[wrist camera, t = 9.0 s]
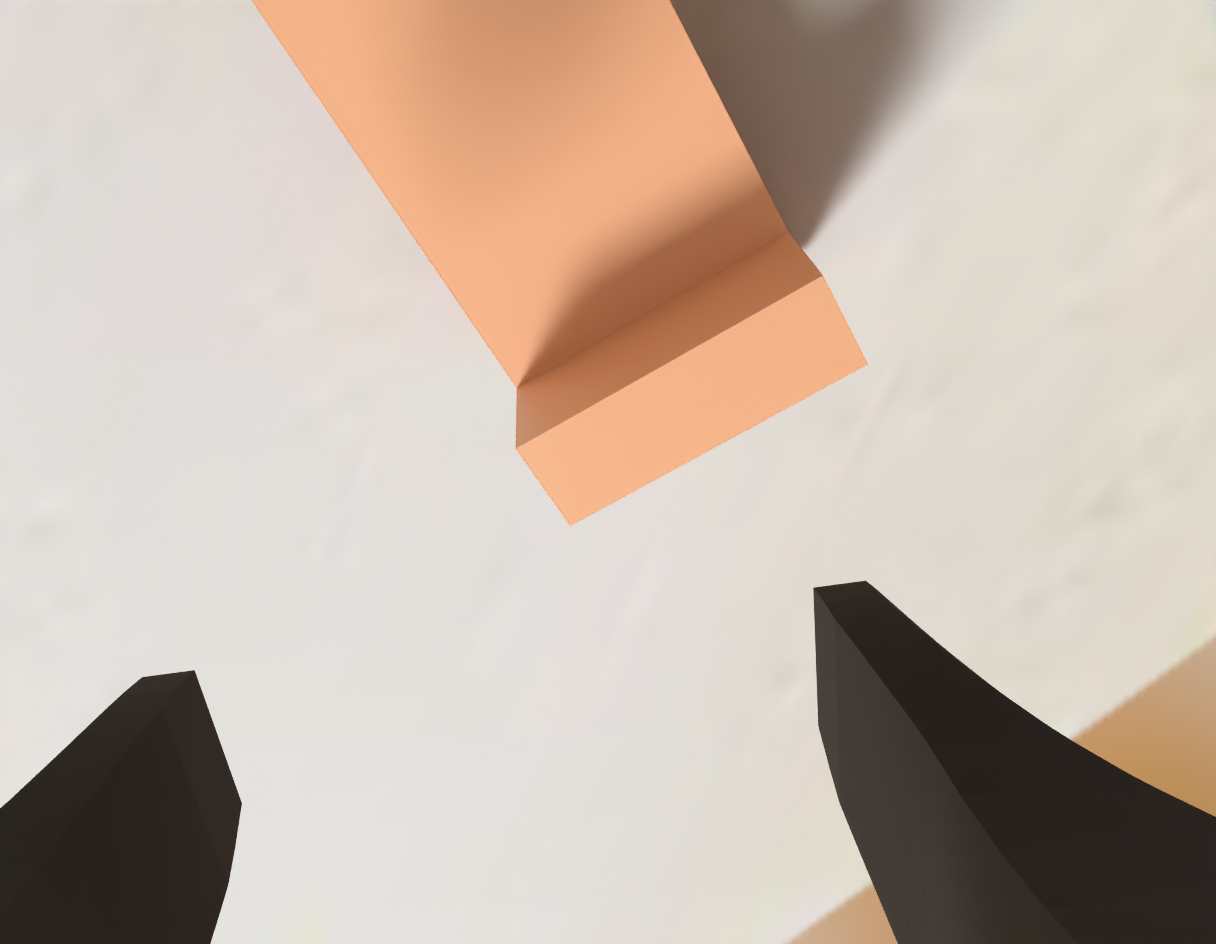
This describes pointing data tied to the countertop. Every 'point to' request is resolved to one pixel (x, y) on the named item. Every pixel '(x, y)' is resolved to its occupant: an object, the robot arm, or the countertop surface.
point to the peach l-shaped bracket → (581, 221)
